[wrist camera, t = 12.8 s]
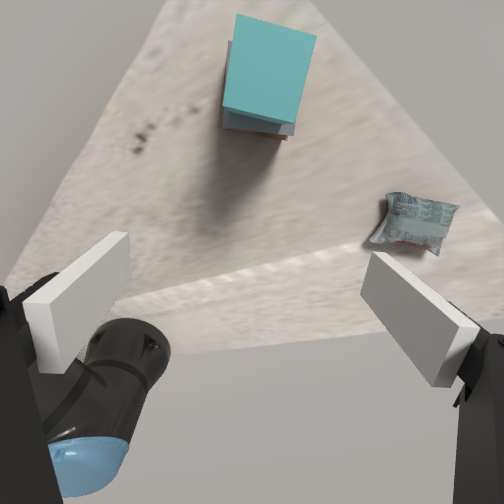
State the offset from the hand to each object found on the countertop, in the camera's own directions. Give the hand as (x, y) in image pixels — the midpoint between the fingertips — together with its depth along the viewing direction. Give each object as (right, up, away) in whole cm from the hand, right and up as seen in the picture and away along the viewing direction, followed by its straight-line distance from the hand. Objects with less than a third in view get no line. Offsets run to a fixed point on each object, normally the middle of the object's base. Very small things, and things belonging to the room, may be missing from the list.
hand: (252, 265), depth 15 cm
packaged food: (+26, +6, +32) cm, 41 cm away
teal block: (+1, +18, +15) cm, 23 cm away
